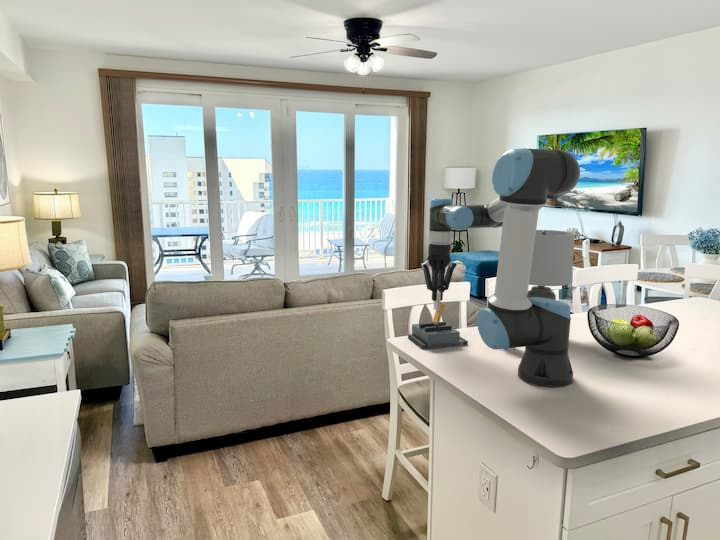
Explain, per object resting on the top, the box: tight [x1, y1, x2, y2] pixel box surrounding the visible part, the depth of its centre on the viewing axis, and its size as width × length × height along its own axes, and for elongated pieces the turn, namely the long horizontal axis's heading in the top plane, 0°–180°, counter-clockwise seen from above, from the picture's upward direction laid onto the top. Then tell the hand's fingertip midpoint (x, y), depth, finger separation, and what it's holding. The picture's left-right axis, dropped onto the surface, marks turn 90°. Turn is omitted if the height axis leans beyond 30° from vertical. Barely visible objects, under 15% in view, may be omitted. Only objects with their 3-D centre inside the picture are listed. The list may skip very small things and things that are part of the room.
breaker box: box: [411, 321, 461, 350], centre depth 186 cm, size 14×12×6 cm
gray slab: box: [458, 336, 469, 347], centre depth 188 cm, size 14×3×1 cm, turn 17°
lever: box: [431, 301, 445, 326], centre depth 185 cm, size 3×1×9 cm, turn 17°
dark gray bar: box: [407, 333, 427, 350], centre depth 184 cm, size 13×1×1 cm, turn 17°
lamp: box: [527, 229, 576, 300], centre depth 190 cm, size 20×20×39 cm
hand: (436, 309), depth 184 cm, fingers closed
